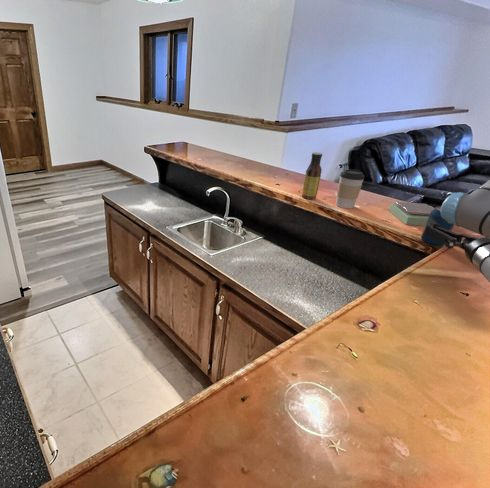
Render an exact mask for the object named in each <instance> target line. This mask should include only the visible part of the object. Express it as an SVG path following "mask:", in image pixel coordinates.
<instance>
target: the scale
mask: <svg viewBox="0 0 490 488" xmlns="http://www.w3.org/2000/svg"><path fill="white" fill-rule="evenodd" d="M429 206H430V207H432V208H433V209H435V207H433V206H432V205H429ZM388 211H389V212H390V214H392V215H394V216H395V217H396V218H397V219H398V220H399V221H401V222H402V223H403V224H404V225H407V226H418V227H419V226H420V227H421V226H422V227H425V226H426V223H427V221H428V218H429V215H419V214H408V213H407V212H406V211H404V210H403V209H402V208H400V207H399V206H398V205H397V204H396V203H390V206H389V208H388Z"/></svg>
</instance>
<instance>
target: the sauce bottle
mask: <svg viewBox="0 0 490 488" xmlns="http://www.w3.org/2000/svg"><path fill="white" fill-rule="evenodd" d="M322 157H323V153H322V152H318V151H317V152H315V151H314V152H312V153H311V160H310V163H309V165H308V167H307V169H306V170H305V175H304V179H303V180H304V181H303V186H302V191H301V197H302V198H303V197H304V198H303V199H306V198H308V199H307V200H315V199H316V198H317V196H318V191H319V186H320V181H321V176H322V170H323V169H322V166H321V161H322Z"/></svg>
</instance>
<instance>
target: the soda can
mask: <svg viewBox="0 0 490 488" xmlns="http://www.w3.org/2000/svg"><path fill="white" fill-rule="evenodd" d="M441 206H442V205H441ZM441 206H440V205H439V206H435V207H434V208H435V209H434V210H432V211H431V213H430V215H429V217H432V218H433V219H434V220H435V221H436V222H437V223H438V224H439V225H440V227H441V228H444V229H446V230H449V231H452V232H453V229H454V226H455V225H454V224H452V223H450V222H448V221H446V220H445V219H443V218H442V216H441V212H440V210H441ZM428 220H429V218H428ZM427 222H428V221H427ZM426 225H427V223H426ZM425 228H426V226H424V229H423V231H422V233H421V237H420V238H421V242H422V243H423V244H425V245H427V246H430V247H432V248H433V247H434V248H442V247H443V246H445V245H444V244H442V243H440V242H438V241H436V240H434V239H432V238H431V237H429V236H427V235H425V234H423V233H424V231H425Z"/></svg>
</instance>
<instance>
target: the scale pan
mask: <svg viewBox="0 0 490 488" xmlns="http://www.w3.org/2000/svg"><path fill="white" fill-rule="evenodd" d="M395 204H397V205H398V206H399V207H400V208H402V209H403V210H404V211H406V212H407V213H408V214H419V215H430V213H431V211H432V210H434V209H433V208H434V207H433V206H432V207H433V208H432V207H430V206H431V205H429V204H427V203H418V202H403V201H396V202H395Z"/></svg>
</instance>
